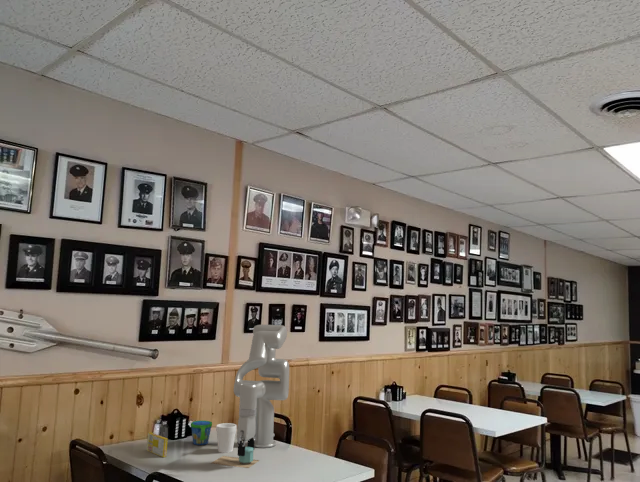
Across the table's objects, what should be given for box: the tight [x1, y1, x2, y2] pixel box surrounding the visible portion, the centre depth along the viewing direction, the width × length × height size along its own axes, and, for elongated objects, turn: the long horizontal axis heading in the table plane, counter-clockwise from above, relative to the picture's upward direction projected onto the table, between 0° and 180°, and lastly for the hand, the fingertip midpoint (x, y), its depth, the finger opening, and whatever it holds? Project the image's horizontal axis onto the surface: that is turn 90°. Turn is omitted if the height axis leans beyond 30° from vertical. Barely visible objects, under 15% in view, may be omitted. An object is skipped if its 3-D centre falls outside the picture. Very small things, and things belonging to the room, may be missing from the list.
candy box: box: [146, 431, 169, 458], centre depth 245 cm, size 16×2×8 cm, turn 45°
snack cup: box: [190, 420, 213, 446], centre depth 264 cm, size 16×10×10 cm
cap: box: [238, 446, 255, 463], centre depth 229 cm, size 6×6×5 cm
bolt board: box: [210, 455, 261, 469], centre depth 230 cm, size 12×18×6 cm, turn 73°
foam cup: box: [215, 422, 238, 454], centre depth 247 cm, size 10×9×13 cm
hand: (246, 452), depth 229 cm, fingers open, 9 cm apart
